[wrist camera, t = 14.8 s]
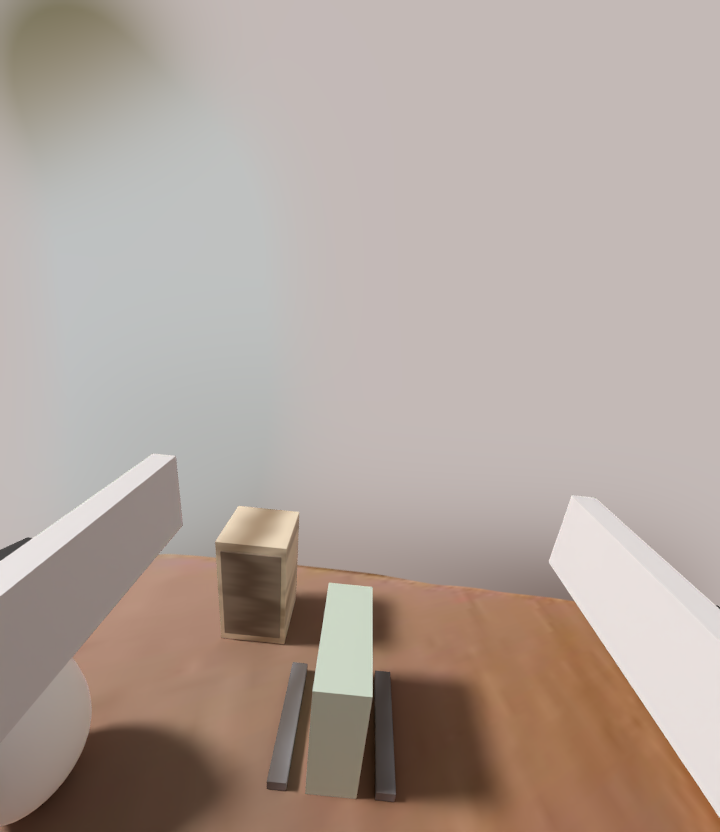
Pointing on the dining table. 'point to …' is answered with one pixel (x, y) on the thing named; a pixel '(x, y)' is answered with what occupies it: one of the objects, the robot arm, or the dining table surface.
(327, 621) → the pale green block
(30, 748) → the sauce bottle
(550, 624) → the dining table surface
